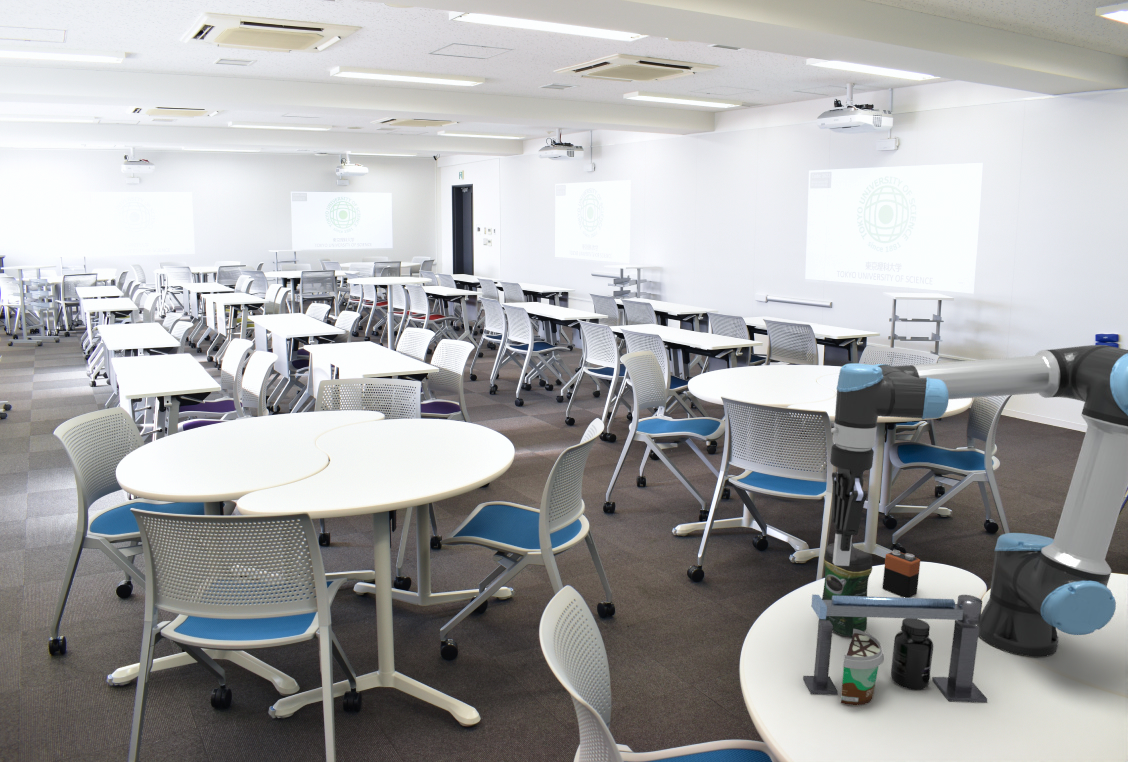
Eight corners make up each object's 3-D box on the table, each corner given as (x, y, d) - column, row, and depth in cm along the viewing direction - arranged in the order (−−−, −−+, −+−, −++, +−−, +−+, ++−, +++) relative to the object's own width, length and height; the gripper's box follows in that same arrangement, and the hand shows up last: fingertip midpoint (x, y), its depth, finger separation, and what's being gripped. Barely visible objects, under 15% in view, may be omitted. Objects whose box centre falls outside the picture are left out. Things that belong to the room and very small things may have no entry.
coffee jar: (872, 633, 170) (880, 551, 167) (847, 641, 166) (854, 558, 163) (837, 614, 178) (844, 536, 175) (812, 621, 174) (819, 542, 171)
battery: (907, 599, 187) (911, 559, 185) (881, 589, 192) (885, 550, 190) (917, 595, 189) (921, 555, 187) (891, 584, 194) (895, 546, 193)
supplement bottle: (932, 693, 147) (939, 634, 145) (894, 688, 149) (900, 629, 147) (924, 674, 154) (930, 617, 152) (887, 669, 155) (893, 613, 153)
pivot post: (968, 681, 152) (976, 615, 149) (987, 702, 145) (995, 634, 142) (931, 680, 152) (939, 614, 149) (948, 701, 145) (956, 632, 142)
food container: (875, 717, 140) (881, 665, 138) (839, 707, 142) (844, 656, 141) (883, 683, 150) (888, 635, 149) (849, 675, 153) (853, 627, 151)
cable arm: (971, 613, 148) (974, 593, 147) (985, 626, 143) (987, 606, 143) (811, 608, 149) (812, 589, 148) (819, 621, 144) (820, 601, 143)
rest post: (829, 680, 151) (834, 617, 149) (837, 694, 146) (843, 629, 144) (803, 679, 151) (808, 616, 149) (810, 694, 146) (816, 629, 144)
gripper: (822, 436, 155) (811, 550, 159) (844, 454, 142) (832, 577, 146) (860, 438, 155) (848, 551, 159) (886, 456, 142) (872, 579, 146)
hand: (840, 564), depth 153 cm, fingers closed
